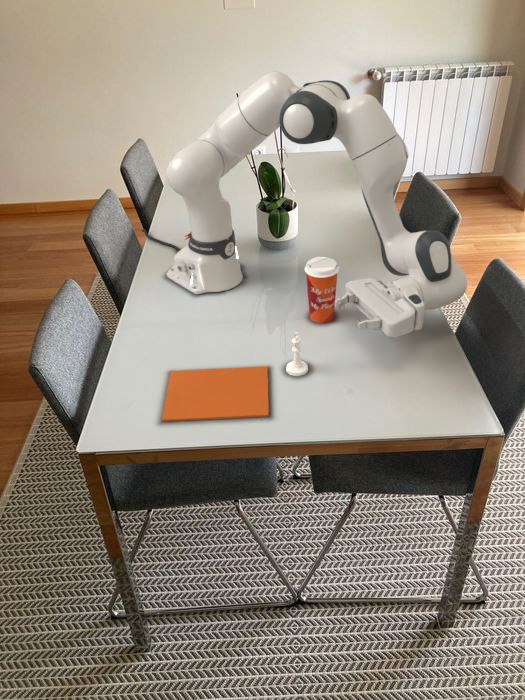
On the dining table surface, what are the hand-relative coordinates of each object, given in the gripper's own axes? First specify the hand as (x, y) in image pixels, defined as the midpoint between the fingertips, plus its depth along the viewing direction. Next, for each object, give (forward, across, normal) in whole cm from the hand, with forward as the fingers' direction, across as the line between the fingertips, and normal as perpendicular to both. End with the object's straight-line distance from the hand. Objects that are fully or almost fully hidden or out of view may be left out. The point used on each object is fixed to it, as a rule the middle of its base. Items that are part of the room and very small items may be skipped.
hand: (346, 314), depth 132 cm
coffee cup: (-2, -17, +11) cm, 20 cm away
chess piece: (+12, 0, +11) cm, 17 cm away
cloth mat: (+31, 0, +11) cm, 33 cm away
